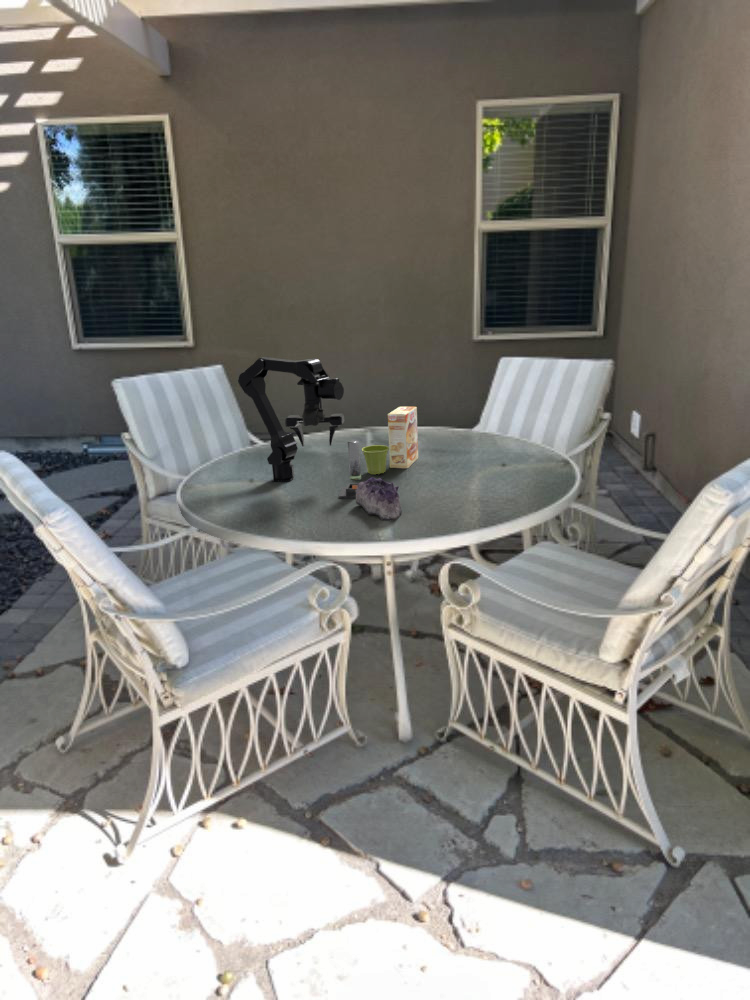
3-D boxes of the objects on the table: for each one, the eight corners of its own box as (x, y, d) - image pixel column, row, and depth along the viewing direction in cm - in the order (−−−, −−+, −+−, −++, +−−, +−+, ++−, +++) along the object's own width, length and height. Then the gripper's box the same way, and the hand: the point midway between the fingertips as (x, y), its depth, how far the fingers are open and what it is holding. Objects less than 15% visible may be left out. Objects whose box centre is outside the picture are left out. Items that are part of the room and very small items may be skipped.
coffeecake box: (408, 468, 245) (406, 414, 239) (388, 468, 247) (386, 414, 241) (419, 458, 258) (417, 406, 252) (401, 457, 261) (398, 405, 255)
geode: (416, 516, 197) (411, 484, 193) (380, 528, 193) (374, 496, 190) (387, 495, 215) (382, 465, 211) (353, 506, 211) (347, 476, 207)
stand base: (338, 498, 216) (337, 488, 215) (343, 489, 226) (342, 479, 224) (370, 498, 215) (369, 487, 214) (373, 488, 224) (373, 478, 223)
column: (349, 480, 217) (346, 443, 214) (350, 477, 221) (348, 440, 217) (360, 480, 217) (358, 443, 213) (361, 477, 220) (359, 440, 217)
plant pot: (387, 476, 237) (386, 451, 234) (360, 476, 239) (359, 451, 236) (392, 468, 246) (391, 445, 243) (366, 468, 248) (364, 445, 245)
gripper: (279, 404, 218) (283, 452, 223) (337, 402, 216) (341, 451, 220) (287, 398, 228) (291, 444, 233) (342, 396, 226) (346, 442, 231)
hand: (316, 445), depth 229 cm, fingers open, 9 cm apart
